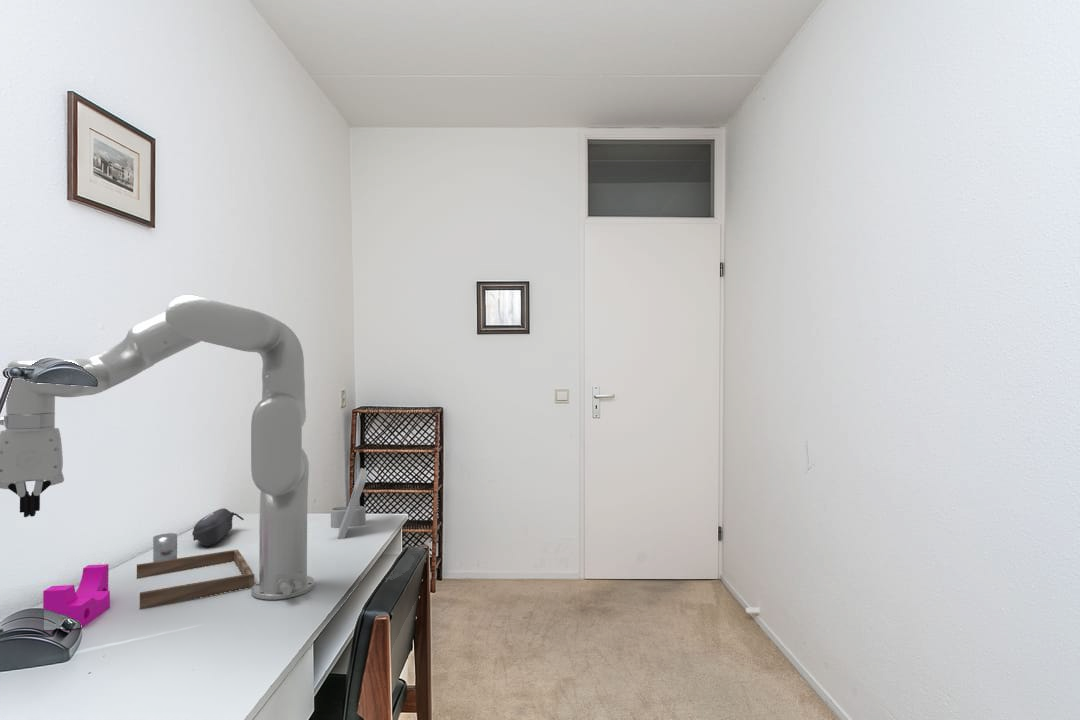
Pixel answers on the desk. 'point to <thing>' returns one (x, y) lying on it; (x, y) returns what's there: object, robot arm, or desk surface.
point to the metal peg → (164, 547)
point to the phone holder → (350, 509)
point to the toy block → (81, 596)
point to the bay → (194, 589)
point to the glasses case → (213, 527)
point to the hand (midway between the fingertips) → (29, 515)
